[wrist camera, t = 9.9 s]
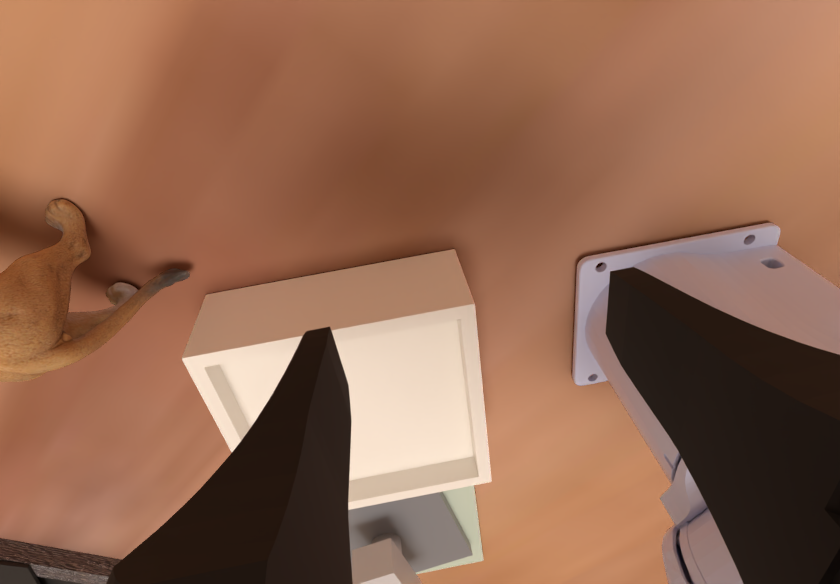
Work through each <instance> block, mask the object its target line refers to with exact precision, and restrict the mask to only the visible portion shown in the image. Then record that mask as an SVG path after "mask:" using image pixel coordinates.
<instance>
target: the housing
mask: <svg viewBox="0 0 840 584" xmlns="http://www.w3.org/2000/svg"><path fill="white" fill-rule="evenodd" d="M325 327H330V328H331V331H332V334H333V337H334V340H335V344H336V347H337V350H338V353H339V356H340V359H341V363H342V366H343V369H344V372H345V375H346V378H347V382H348V385H349V396H350V408H351V448H350V472H349V496H348V510H351V509H356V508H361V507H366V506H371V505H376V504H381V503H386V502H391V501H396V500H402V499H407V498H412V497H417V496H422V495H427V494H432V493H437V492H442V491H447V490H452V489H458V488H463V487H468V486H473V485H478V484H483V483H488V482H492V481H491V470H490V460H489V449H488V438H487V428H486V417H485V406H484V396H483V385H482V374H481V364H480V353H479V343H478V332H477V321H476V311H475V303H474V300H473V297H472V295H471V292H470V289H469V287H468V284H467V281H466V278H465V276H464V273H463V270H462V268H461V265H460V262H459V260H458V257H457V254H456V251H455V249H451V250H446V251H441V252H435V253H430V254H424V255H419V256H413V257H408V258H402V259H397V260H392V261H386V262H381V263H375V264H370V265H364V266H359V267H353V268H348V269H343V270H337V271H332V272H326V273H321V274H315V275H310V276H304V277H299V278H294V279H288V280H283V281H277V282H272V283H266V284H261V285H255V286H250V287H245V288H239V289H234V290H228V291H223V292H217V293H212V294H206V296H205V298H204V301H203V304H202V306H201V309H200V311H199V314H198V317H197V319H196V322H195V325H194V327H193V330H192V332H191V335H190V338H189V340H188V343H187V345H186V348H185V351H184V353H183V356H182V360H183V362H184V364H185V366H186V368H187V370H188V371H189V373H190V375H191V377H192V379H193V381H194V383H195V384H196V386H197V388H198V390H199V392H200V394H201V396H202V398H203V399H204V401H205V403H206V405H207V407H208V409H209V411H210V413H211V414H212V416H213V418H214V420H215V422H216V424H217V426H218V427H219V429H220V431H221V433H222V435H223V437H224V439H225V441H226V442H227V444H228V446H229V448H230V450H231V452H233V451H234V449H235V448H236V447H237V446H238V444H239V443H240V442H241V440H242V439H243V438H244V436H245V435H246V434H247V432H248V431H249V429H250V428H251V426H252V425H253V424H254V422H255V421H256V419H257V418H258V416H259V414H260V413H261V411H262V410H263V408H264V407H265V405H266V403H267V402H268V400H269V399H270V397H271V395H272V394H273V392H274V390H275V389H276V387H277V385H278V383H279V381H280V380H281V378H282V376H283V374H284V372H285V371H286V369H287V367H288V365H289V363H290V361H291V359H292V357H293V355H294V353H295V351H296V349H297V347H298V345H299V343H300V341H301V339H302V337H303V335H304V334H305V332H306V331H310V330H315V329H320V328H325Z"/></svg>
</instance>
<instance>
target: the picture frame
mask: <svg viewBox="0 0 840 584" xmlns="http://www.w3.org/2000/svg"><path fill="white" fill-rule="evenodd" d="M120 561H121V560H120V559H114V558H108V557H103V556H97V555H92V554H86V553H80V552H75V551H69V550H63V549H58V548H52V547H47V546H41V545H35V544H30V543H24V542H18V541H13V540H7V539H1V538H0V584H106V583H107V580H108V578H109V576H110V574H111V571H112V569H113V567H114V566H115V565H116V564H118V563H119V562H120Z"/></svg>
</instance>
